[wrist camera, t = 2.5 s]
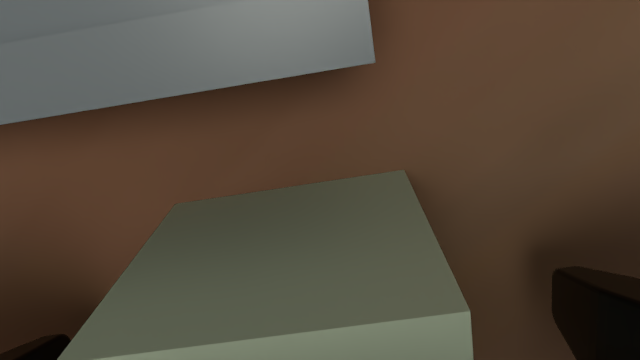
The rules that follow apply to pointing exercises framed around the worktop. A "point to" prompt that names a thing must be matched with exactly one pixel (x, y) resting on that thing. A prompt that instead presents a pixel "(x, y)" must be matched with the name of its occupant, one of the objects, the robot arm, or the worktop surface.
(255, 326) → the green cube
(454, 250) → the worktop surface
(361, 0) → the tote
